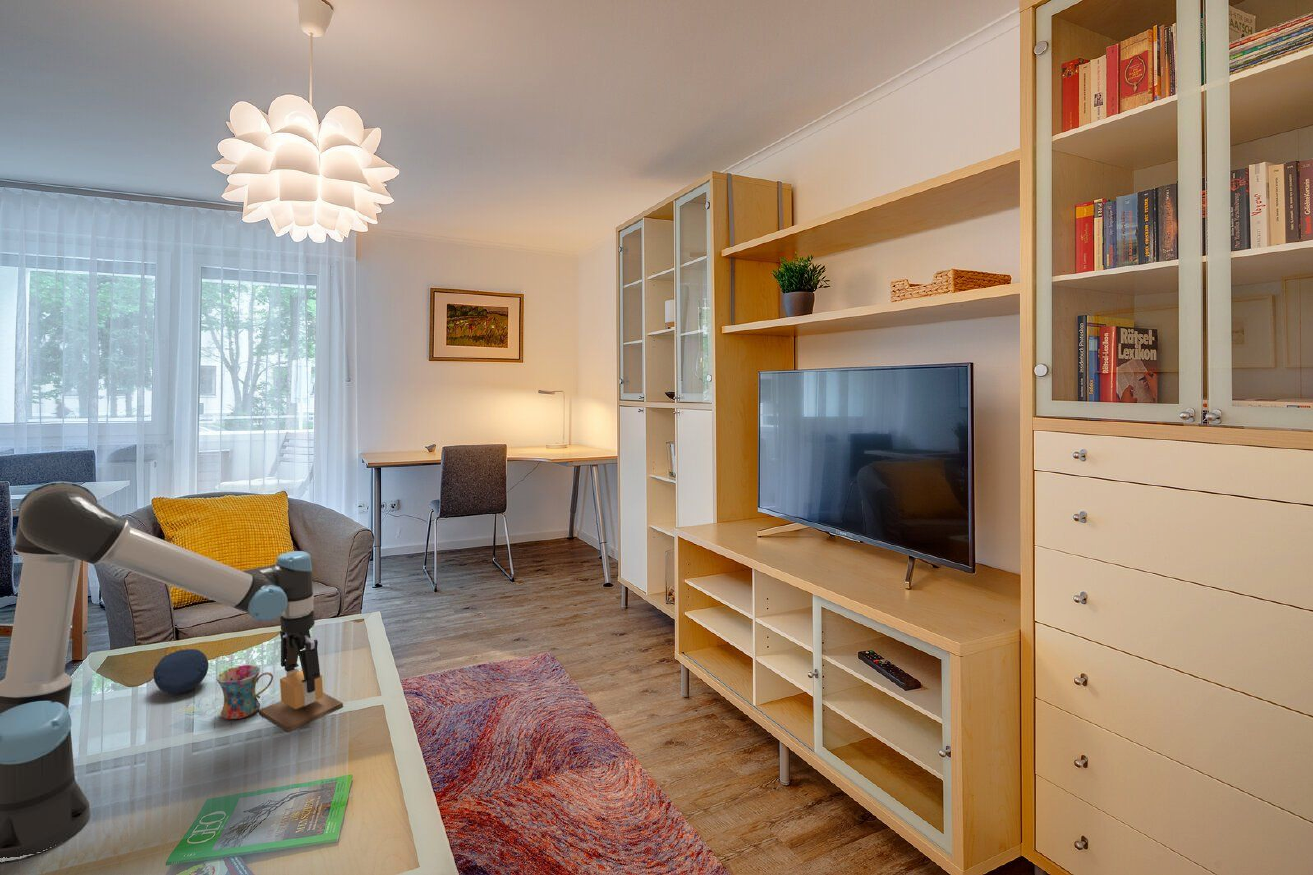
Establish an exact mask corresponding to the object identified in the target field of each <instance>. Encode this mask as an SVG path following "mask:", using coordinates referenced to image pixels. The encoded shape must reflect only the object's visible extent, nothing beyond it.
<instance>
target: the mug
mask: <svg viewBox="0 0 1313 875" xmlns="http://www.w3.org/2000/svg"><path fill="white" fill-rule="evenodd" d="M260 672H261V667H259V666H258V665H254V664H245V665H243V664H242V665H239V666H233V667H231V668H227V669H226V670H225V669H224V670H223V671H222V672H220V673H219V674H218V675H217V676H216V681H217V683H218V684H219V686H220V688H221V690H222V695H223V706H222V709H221V711H220V716H221V718H223V719H226V720H239V719H243V718H245V717H248V716H251V715H252V714H254V713H255V712H257V711H259V710H260V707H261V702H260V701H259V700H258V699H260V698H261V696H260V695H261V694H263V693H264V692H265V691H266V690H267V689H268V688H269V686H271V683H272V682H273V681H274V676H273V673H271V672H262V673H261V674H260ZM259 674H260V675H259ZM265 675H269V676H270V681H269V682H268V684H267V685H266V686H265V687H264V688H263V689H262V690H260V691H259V692H257V693H256V688H257V687H256V684H258V683H259V680H260V678H261V677H263V676H265Z"/></svg>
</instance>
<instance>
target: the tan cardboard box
mask: <svg viewBox="0 0 1313 875" xmlns="http://www.w3.org/2000/svg"><path fill="white" fill-rule="evenodd" d="M302 680H304V675H303V671H302V669H300V670H299V672H296V673H294V674H291V675H289V676H287V675H286V676H284V677H281V678H279V686H280V687H279V688H280V701H282V702H284V703H285V704H287V705H289V706H291V707H292V708H294V709H298V708H300V707H302V706H305V705H304V702H303V683H302ZM323 693H324V688H323V675H321V674H320V677H319V678H316V679H315V695H316V700H318V699H320V698H323Z"/></svg>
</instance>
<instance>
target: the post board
mask: <svg viewBox="0 0 1313 875" xmlns="http://www.w3.org/2000/svg"><path fill="white" fill-rule="evenodd" d="M343 707H344V703H343V702H342V701H340V700H338V699H336V698H334V697H333V696H331V695H328V694H327V693H325V692H323V698H320V699H318V700H316V701H315V702H313V703H311V704H308V705H306V706H302V707H300V708H298V709H294V708H292V707H291V706H289V705H287V704H285V703H284V702H282V701H281V700H279V701H277V702H275V703H272V704H271V705H270V704H269V705H267V706H265V707H262V708H259V709H258V714H259V715H260V716H262V717H264V718H265V719H266V720H269V721H271V723H274V724H275V725H277V726H278V727H280V728H281V729H283V730H285V731H286V732H290V731H292V730H294V729H297V728H298V727H302V726H303V725H305V724H308V723H309V722H313V721H315V720H316V719H319V718H321V717H323V716H325V715H327V714H330V713H332V712H334V711H336V710H339V709H340V708H343Z"/></svg>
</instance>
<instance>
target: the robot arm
mask: <svg viewBox="0 0 1313 875" xmlns="http://www.w3.org/2000/svg"><path fill="white" fill-rule="evenodd" d="M97 499H98V498H96V495H95V494H94V493H93V492H92V491H91V490H90V489H88V488H87V487H85V486H83V485H80V484H79V483H75V482H70V481H52V482H48V483H44V484H42V485H39V486H36V487H35V488H33V489H31V491H29V492H28V493H26V495H24V497H23V498H22V499H21V500H20V502H19V505H18V508H17V509H18V510H17V514H18V522H17V528H16V534H15V540H14V547H13V548H14V549H13V552H15V553H16V554H17V555H18V556H20V557H21V558H22V559H23V561H22V567H21V574H20V580H19V586H18V590H17V599H16V605H15V613H14V619H13V626H12V632H11V637H10V644H9V651H8V656H7V664H6V669H5V670H6V671H5V677H4V678H2V680H0V858H3V857H5V858H6V857H7V858H10V857H20V856H23V855H29V854H36V853H37V852H42V851H43V850H46V849H49V848H50V847H53V846H55V845H57V846H59V845H60V844H59V843H61V842H62V843H64V842H65V841H68V840H70V838H72V837H73V836H75V835H76V834H77V833H78V832H80V831H81V830H82V829H83V828H84V827H85V826H86V825H87V823H88V822H89V820H90V817H91V808H90V801H89V800H88V797H86V795H85V794H84V792H83V790H82V789H81V787H80V785H79V784H78V783H77V781H76V778H75V764H74V754H73V743H72V742H73V740H72V730H71V728H72V716H71V715H70V713H69V707H70V700H71V692H72V687H73V681H74V680H73V677H72V676H71V675H69V674H67V673H66V672H65V670H66V662H67V654H68V648H69V641H70V636H71V629H72V622H73V616H74V609H75V602H76V597H77V596H76V595H77V590H78V583H79V582H78V581H79V576H80V570H81V562H86V563H89V564H90V565H99V564H102V563H105V564H108V565H112V566H114V567H118V568H121V569H122V570H126V571H129V572H132V573H135V574H136V575H137V574H138V575H139V576H140V575H141V576H143V577H146V578H149V579H152V580H154V581H156V582H157V581H158V582H160V583H162V584H166V585H169V586H170V587H171V586H172V587H174V588H177V589H180V590H182V591H185V592H189V593H192V594H194V595H197V596H201V597H203V598H205V599H209V600H211V601H214V602H217V603H220V604H222V605H224V606H228V607H231V608H233V609H236V610H238V611H242V612H243V613H246V614H248V615H249V616H251V617H252V618H254V619H256V620H258V621H259V622H260V621H261V622H269V621H273V620H275V619H277V618H280V620H279V622H280V630H279V635H280V666H281V667H282V668H284V670H285V674H286V676H289V675H291V674H294V673H296V672H299V671H300V670H299V668H298V667H301V670H302V671H303V675H304V680H302V683H303V702H304V705H305V706H306V705H308V704H311V703H313V702H315V701H316V695H315V679H316V678H319V677H320V675H321V672H320V670H321V669H320V660H319V652H318V639H312V637H311V632H310V630H311V629H312V628H313V627H314V625H315V611H314V607H315V606H314V599H315V596H314V591H313V590H314V588H313V584H314V583H313V570H314V569H313V564H312V558H311V557H312V556H311V554H310V553H308V552H307V551H301V550H294V551H287V552H285V553H281V554H279V555H278V556H277V558H276V562H275V564H271V565H266V566H261V567H256V568H255V567H254V568H250V569H244V570H239V569H237V568H235V567H232V566H230V565H227V564H225V563H222V562H219V561H217V560H214V559H212V558H209V557H208V556H204V555H202V554H199V553H196V552H194V551H192V550H191V549H190V550H189V549H186V548H185V547H182V546H180V545H177V544H174V543H172V542H169V541H167V540H165V539H161V538H159V537H156V536H154V535H151V534H149V533H146V532H145V531H143V530H142V531H141V530H139V529H136V528H133V527H131V525H130V523H129V520H128V519H126V518H123V517H122V516H119V515H116V514H114V513H113V512H111V511H110V510H108V509H106V508H104V507H103V506H102V505H101V504H99V503H98V500H97ZM298 659H299V661H300V665H299V663H298ZM62 843H61V844H62ZM58 844H59V845H58ZM55 847H56V846H55ZM53 848H54V847H53ZM49 850H50V849H49ZM46 851H47V850H46ZM42 853H43V852H42ZM36 855H37V854H36Z"/></svg>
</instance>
